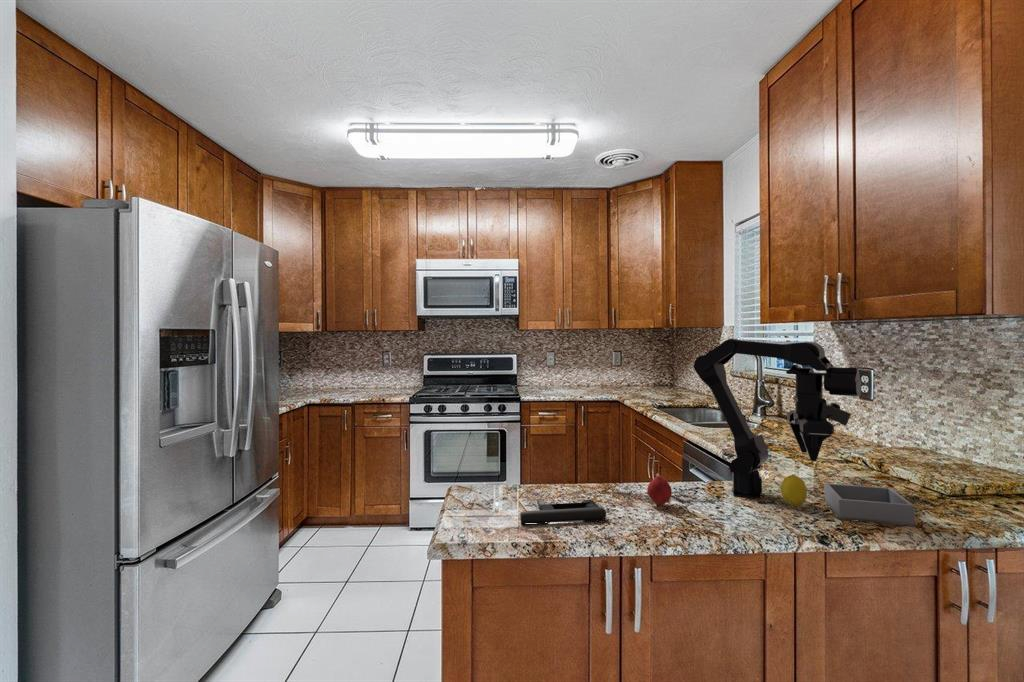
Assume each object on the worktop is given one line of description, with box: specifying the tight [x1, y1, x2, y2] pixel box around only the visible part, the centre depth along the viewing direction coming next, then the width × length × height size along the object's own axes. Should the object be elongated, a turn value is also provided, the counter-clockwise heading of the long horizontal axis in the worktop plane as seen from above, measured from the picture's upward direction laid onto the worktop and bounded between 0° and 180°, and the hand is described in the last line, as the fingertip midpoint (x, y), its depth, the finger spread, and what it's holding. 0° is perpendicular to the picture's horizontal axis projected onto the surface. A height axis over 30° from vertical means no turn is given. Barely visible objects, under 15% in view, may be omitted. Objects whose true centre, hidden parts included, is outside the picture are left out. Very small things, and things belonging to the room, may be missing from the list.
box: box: [823, 482, 916, 527], centre depth 116 cm, size 14×14×4 cm
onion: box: [646, 473, 673, 507], centre depth 123 cm, size 6×6×8 cm
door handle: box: [519, 498, 607, 524], centre depth 119 cm, size 3×20×16 cm
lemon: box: [780, 474, 808, 508], centre depth 120 cm, size 6×6×8 cm
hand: (808, 456), depth 121 cm, fingers open, 9 cm apart
